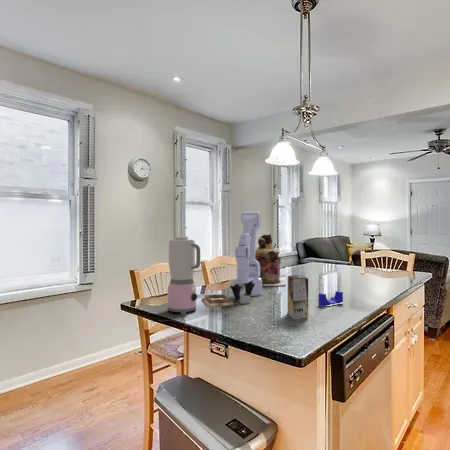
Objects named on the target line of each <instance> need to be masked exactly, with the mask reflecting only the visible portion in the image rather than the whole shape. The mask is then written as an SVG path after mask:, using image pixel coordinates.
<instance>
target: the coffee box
mask: <svg viewBox="0 0 450 450" xmlns="http://www.w3.org/2000/svg"><path fill="white" fill-rule="evenodd" d="M287 315H288V316H289V317H291V319H292V320H302V319H301V318H308V319H309V278H308V277H305V276H303V274H302V275H301V274H300V275H298V274H297V275H296V274H295V275H287Z"/></svg>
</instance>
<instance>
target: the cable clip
mask: <svg viewBox="0 0 450 450" xmlns="http://www.w3.org/2000/svg"><path fill="white" fill-rule="evenodd" d="M343 301H344V292H343V291H340V290H339V291H338V290H337V291H335V294H334V296H332V297H331V298H329V300H328V299H327V294H325V293H322V292H319V293H318V306H319V305H323V306H324V305H330V304H335V303H340V302H343ZM343 303H344V302H343Z"/></svg>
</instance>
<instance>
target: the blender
mask: <svg viewBox="0 0 450 450" xmlns="http://www.w3.org/2000/svg"><path fill="white" fill-rule="evenodd" d="M195 243H196V241H195V240H194V239H189V237H188V236H176V237H175V239H170V240H169V241H168V268H169V274H170V281H169V284H168V287H167V312H168V311H170V312H175V313H180V315H181V314H185V315H187V312H192V311H193V312H195V311H196V312H197V298H198V295H197V286H196V284H195V281H194V275H195V274H194V273H195V270H196V269H199V268H200V266H201V247H200V246H199V245H198V244H195Z"/></svg>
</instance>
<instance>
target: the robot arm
mask: <svg viewBox="0 0 450 450" xmlns="http://www.w3.org/2000/svg"><path fill="white" fill-rule="evenodd" d="M261 218H262V216H261V212H260V211H242V212H241V213H240V222H241V224H242V227H243V228H242V229H243V230H242V233H241V234H240V235H239V239H238V243H237V246H236V247H235V249H234V254H235V262H236V279H234V280H232V281H230V284H229V286H230V289H231V292H232V293H233V296H234V300H237V301H239V299H240V293H247V294H249V295H250V297H253V296H254V297H257V296H263V295H264V294H263V286H262V280H261V278H258V277H259V276H260V263H259V262H258V261H257V260H255V250H256V249H257V248H256V247H257V245H256V244H257V242H256V241H257V232H258V229H260V228H261V222H262V221H261V220H262V219H261ZM255 265H256V266H255ZM240 285H243V292H241V289H242V286H240ZM237 301H236V302H237Z"/></svg>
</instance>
